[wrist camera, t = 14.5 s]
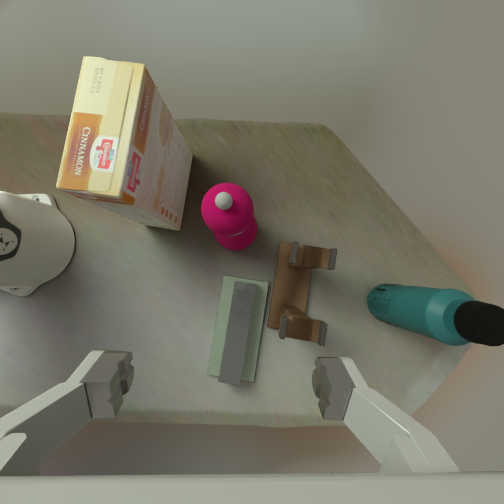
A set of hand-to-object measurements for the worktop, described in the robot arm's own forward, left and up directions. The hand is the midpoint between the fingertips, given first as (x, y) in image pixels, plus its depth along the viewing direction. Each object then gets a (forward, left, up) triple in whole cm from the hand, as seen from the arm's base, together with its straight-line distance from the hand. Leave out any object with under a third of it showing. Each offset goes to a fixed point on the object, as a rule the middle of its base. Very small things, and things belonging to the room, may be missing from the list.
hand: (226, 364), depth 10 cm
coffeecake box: (-18, +17, -32) cm, 40 cm away
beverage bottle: (+23, +3, -32) cm, 39 cm away
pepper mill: (-4, +11, -32) cm, 34 cm away
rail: (-1, -6, -31) cm, 31 cm away
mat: (-1, -6, -31) cm, 32 cm away
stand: (+7, +3, -31) cm, 32 cm away
